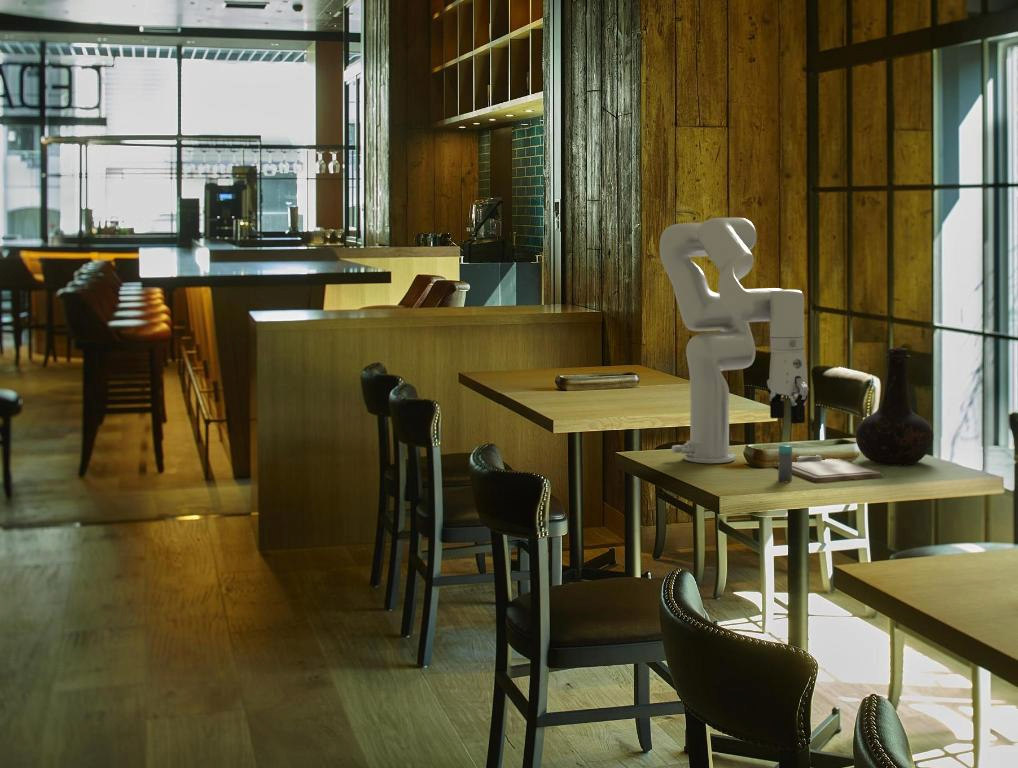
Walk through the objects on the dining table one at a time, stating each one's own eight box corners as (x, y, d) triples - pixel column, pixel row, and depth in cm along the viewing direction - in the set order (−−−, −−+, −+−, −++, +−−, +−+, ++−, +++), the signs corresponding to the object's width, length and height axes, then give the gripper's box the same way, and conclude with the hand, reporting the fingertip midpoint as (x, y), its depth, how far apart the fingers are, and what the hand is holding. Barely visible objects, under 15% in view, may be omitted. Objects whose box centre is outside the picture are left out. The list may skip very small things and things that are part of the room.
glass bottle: (844, 465, 304) (846, 349, 301) (870, 453, 319) (873, 343, 315) (918, 472, 294) (921, 353, 291) (942, 460, 308) (945, 346, 305)
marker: (782, 482, 285) (782, 447, 284) (775, 480, 288) (776, 445, 287) (794, 481, 286) (794, 446, 285) (787, 479, 288) (788, 444, 287)
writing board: (815, 482, 284) (815, 472, 284) (774, 466, 303) (774, 457, 303) (882, 477, 289) (882, 467, 288) (837, 462, 308) (837, 453, 308)
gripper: (821, 346, 275) (821, 424, 277) (783, 342, 292) (784, 415, 294) (790, 348, 273) (790, 426, 275) (754, 343, 290) (754, 417, 292)
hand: (787, 420), depth 284 cm, fingers open, 9 cm apart
